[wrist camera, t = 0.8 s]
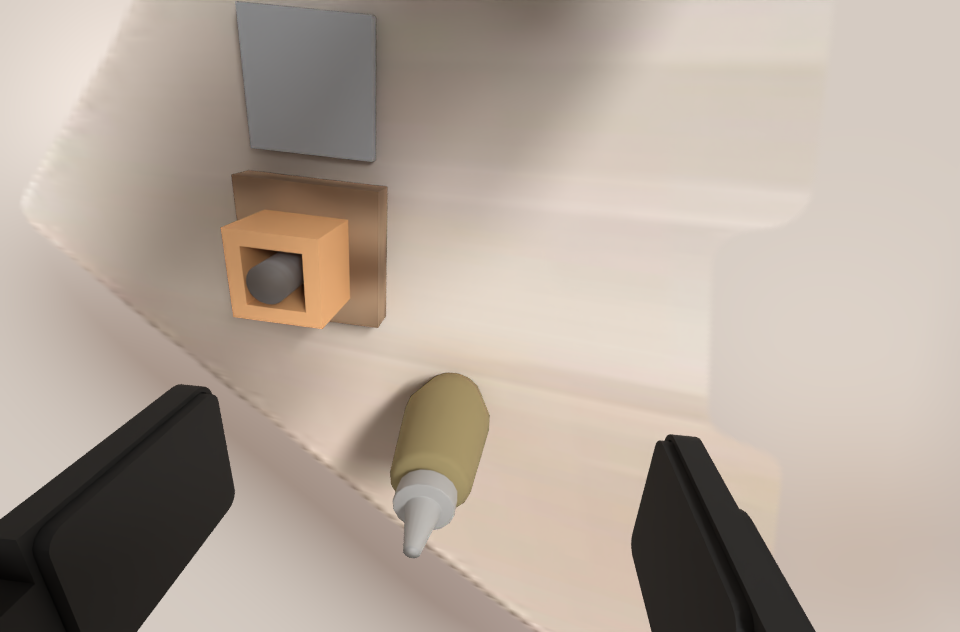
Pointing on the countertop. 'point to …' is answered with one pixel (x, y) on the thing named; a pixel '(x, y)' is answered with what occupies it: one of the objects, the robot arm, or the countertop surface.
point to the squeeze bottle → (437, 455)
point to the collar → (296, 234)
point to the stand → (326, 200)
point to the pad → (309, 80)
